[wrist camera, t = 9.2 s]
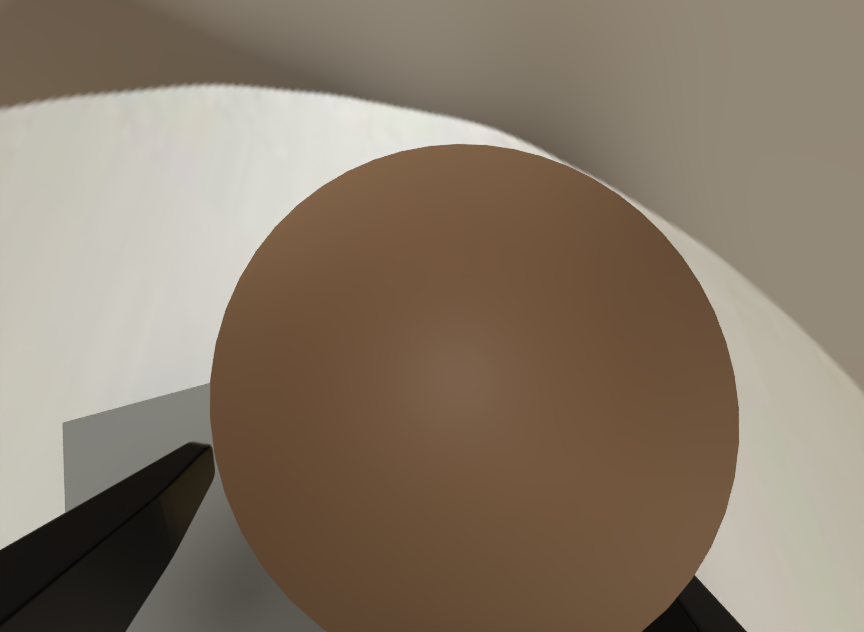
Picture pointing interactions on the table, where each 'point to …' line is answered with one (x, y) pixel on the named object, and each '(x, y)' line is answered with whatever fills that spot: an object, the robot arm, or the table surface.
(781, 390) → the table surface
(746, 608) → the table surface
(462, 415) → the walnut post
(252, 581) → the bracket board
